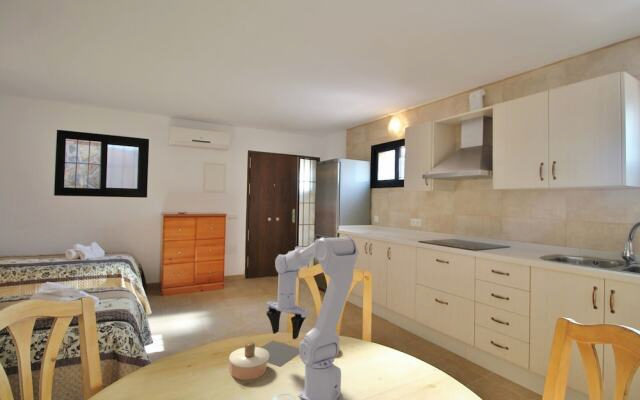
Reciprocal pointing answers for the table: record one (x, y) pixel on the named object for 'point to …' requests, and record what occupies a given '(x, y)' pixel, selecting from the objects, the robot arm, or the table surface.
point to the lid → (249, 356)
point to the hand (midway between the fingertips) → (285, 335)
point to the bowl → (247, 371)
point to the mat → (280, 352)
